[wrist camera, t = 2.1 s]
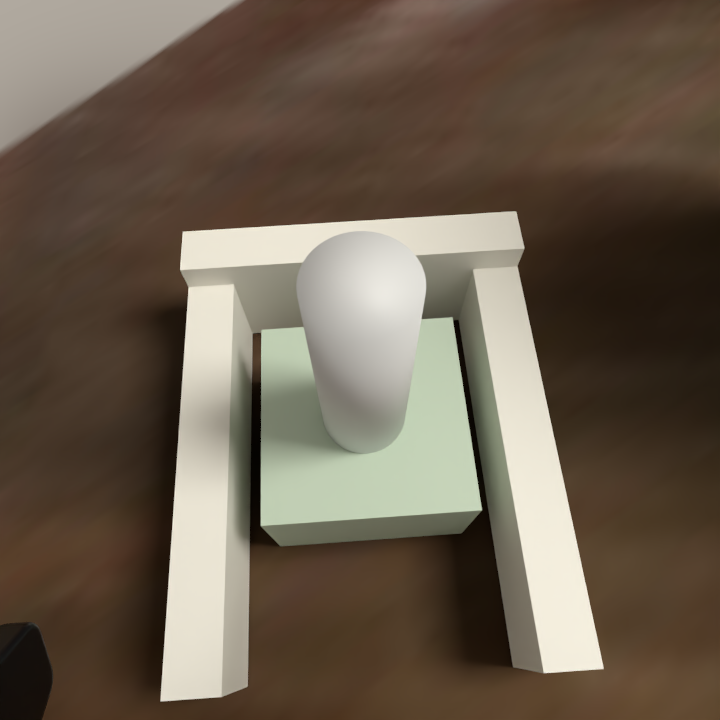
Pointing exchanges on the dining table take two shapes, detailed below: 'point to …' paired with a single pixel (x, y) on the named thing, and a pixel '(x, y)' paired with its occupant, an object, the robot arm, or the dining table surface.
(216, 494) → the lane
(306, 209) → the dining table surface
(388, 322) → the handle block
